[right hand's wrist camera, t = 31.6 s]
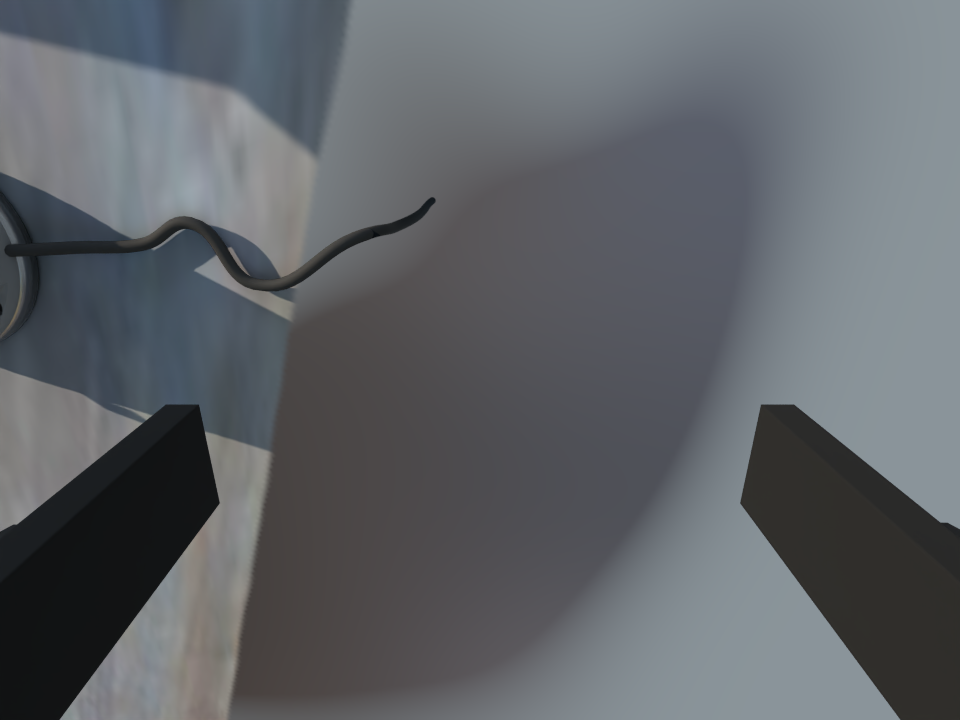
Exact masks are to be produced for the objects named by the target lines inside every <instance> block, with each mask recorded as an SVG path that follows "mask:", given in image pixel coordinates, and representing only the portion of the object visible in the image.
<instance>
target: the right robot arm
mask: <svg viewBox="0 0 960 720" xmlns="http://www.w3.org/2000/svg"><path fill="white" fill-rule="evenodd" d="M435 202H436V199H435V198H434V197H431V198H429V199H428V200H427V201H426V202H425V203H424V204H423V205H422V206H421V208H420V209H418V210H417V211H416V212H414V213H412V214H410V215H408V216H406V217H404V218H402V219H399V220H397V221H394V222H392V223H388V224H382V225H375V226H371V227H367V228H364V229H361V230H358V231H355V232H352V233H350V234H348V235H346V236H344V237H342V238H340V239H338V240H337V241H335V242H333V243H332V244H330V245H329V246H327V247H326V248H325V249H323V250H322V251H321V252H319V253H318V254H317V255H316V256H314V257H313V258H312V259H311V260H310V261H308V262H307V263H306V264H304V265H303V266H302V267H300V268H299V269H298V270H296V271H295V272H293V273H291V274H289V275H287V276H285V277H282V278H279V279H274V280H262V279H256V278H253V277H250V276H249V275H247V274H246V273H245V272H243V271H242V270H241V268H240V267H239V266H238V265H237V263H236V262H235V260H234V259H233V257H232V255H231V254H230V252H229V250H228V249H227V247H226V245H225V244H224V242H223V241H222V239H221V238H220V237H219V235H218V234H217V233H216V232H215V231H214V230H213V229H212V228H211V227H210V226H209V225H207V224H206V223H204V222H203V221H200V220H197V219H195V218H192V217H186V216H184V217H176V218H173V219H171V220H169V221H167V222H166V223H165V224H163V225H162V226H161V227H160V228H159V229H157V230H156V231H155V232H153V233H152V234H150V235H149V236H146V237H143V238H139V239H134V240H126V241H72V242H52V243H31V240H30V237H29V235H28V233H27V231H26V228H25V226H24V225H23V223H22V221H21V219H20V217H19V216H18V214H17V213H16V211H15V210H14V208H13V207H12V205H11V204H10V203H9V202H8V200H7V199H6V198H5V196H4V195H3V194H2V193H1V192H0V341H2V340H4V339H6V338H8V337H9V336H11V335H12V334H13V333H15V332H16V331H17V330H18V329H19V328H20V327H21V326H22V325H23V324H24V323H25V321H26V320H27V318H28V317H29V315H30V313H31V311H32V309H33V307H34V304H35V301H36V297H37V292H38V279H39V278H38V266H37V260H36V256H43V255H63V254H84V253H130V252H138V251H144V250H148V249H151V248H154V247H156V246H158V245H159V244H161V243H162V242H164V241H165V240H166V239H168V238H169V237H170V236H171V235H172V234H174V233H175V232H177V231H179V230H181V229H191V230H194V231H196V232H198V233H199V234H201V235H202V236H203V237H204V238H205V239H206V240H207V241H208V242H209V244H210V245H211V246H212V248H213V249H214V251H215V253H216V254H217V256H218V257H219V259H220V261H221V262H222V264H223V266H224V267H225V268H226V270H227V271H228V273H229V274H230V275H231V276H232V277H233V278H234V279H235V280H236V281H237V282H238V283H240V284H242V285H243V286H245V287H247V288H250V289H253V290H260V291H279V290H284V289H287V288H290V287H293V286H295V285H297V284H298V283H300V282H302V281H304V280H305V279H306V278H308V277H309V276H311V275H312V274H313V273H315V272H316V271H317V270H318V269H320V268H321V267H322V266H323V265H325V264H326V263H327V262H328V261H330V260H331V259H332V258H334V257H335V256H337V255H338V254H339V253H341V252H343V251H344V250H346V249H348V248H350V247H352V246H354V245H356V244H358V243H361V242H363V241H366V240H369V239H372V238H375V237H379V236H384V235H389V234H393V233H396V232H398V231H401V230H403V229H405V228H407V227H409V226H411V225H413V224H414V223H416V222H418V221H419V220H420V219H421V218H423V217H424V215H425V214H426V213H427V212H428V210H429V209H430V207H431V206H432V205H433V204H434V203H435ZM740 503H741V505H742V506H743V508H744V509H745V510H746V512H747V513H748V514H749V516H750V517H751V518H752V520H753V521H754V522H755V524H756V525H757V526H758V528H759V529H760V531H761V532H762V533H763V535H764V536H765V537H766V539H767V540H768V541H769V543H770V544H771V545H772V547H773V548H774V549H775V551H776V552H777V553H778V555H779V556H780V558H781V559H782V560H783V562H784V563H785V564H786V566H787V567H788V568H789V570H790V571H791V572H792V574H793V575H794V576H795V578H796V579H797V581H798V582H799V583H800V585H801V586H802V587H803V589H804V590H805V591H806V593H807V594H808V595H809V597H810V598H811V599H812V601H813V602H814V603H815V605H816V606H817V608H818V609H819V610H820V612H821V613H822V614H823V616H824V617H825V618H826V620H827V621H828V622H829V624H830V625H831V626H832V628H833V629H834V630H835V632H836V633H837V635H838V636H839V637H840V639H841V640H842V641H843V643H844V644H845V645H846V647H847V648H848V649H849V651H850V652H851V653H852V655H853V656H854V658H855V659H856V660H857V662H858V663H859V664H860V666H861V667H862V668H863V670H864V671H865V672H866V674H867V675H868V676H869V678H870V679H871V680H872V682H873V683H874V685H875V686H876V687H877V689H878V690H879V691H880V693H881V694H882V695H883V697H884V698H885V699H886V701H887V702H888V703H889V705H890V706H891V707H892V709H893V710H894V711H895V713H896V714H897V716H898V717H899V718H900V720H960V529H958V528H956V527H954V526H952V525H950V524H949V523H940V522H939V521H938V520H936V519H935V518H934V517H933V516H931V515H930V514H929V513H928V512H927V511H925V510H924V509H923V508H922V507H920V506H919V505H918V504H917V503H915V502H914V501H913V500H912V499H910V498H909V497H908V496H907V495H905V494H904V493H903V492H902V491H900V490H899V489H898V488H897V487H896V486H894V485H893V484H892V483H891V482H889V481H888V480H887V479H886V478H884V477H883V476H882V475H881V474H879V473H878V472H877V471H876V470H874V469H873V468H872V467H871V466H869V465H868V464H867V463H866V462H864V461H863V460H862V459H861V458H860V457H858V456H857V455H856V454H855V453H853V452H852V451H851V450H850V449H848V448H847V447H846V446H845V445H843V444H842V443H841V442H840V441H838V440H837V439H836V438H835V437H833V436H832V435H831V434H830V433H829V432H827V431H826V430H825V429H824V428H822V427H821V426H820V425H819V424H817V423H816V422H815V421H814V420H812V419H811V418H810V417H809V416H807V415H806V414H805V413H804V412H802V411H801V410H800V409H799V408H797V407H796V406H795V405H761V408H760V413H759V417H758V422H757V427H756V431H755V436H754V441H753V446H752V450H751V455H750V460H749V464H748V469H747V474H746V479H745V483H744V488H743V493H742V498H741V502H740ZM219 504H220V502H219V497H218V493H217V488H216V483H215V479H214V474H213V469H212V464H211V460H210V455H209V450H208V446H207V441H206V436H205V431H204V427H203V422H202V417H201V413H200V408H199V405H165V406H164V407H163V408H161V409H160V410H159V411H158V412H156V413H155V414H154V415H153V416H151V417H150V418H149V419H148V420H146V421H145V422H144V423H143V424H141V425H140V426H139V427H138V428H136V429H135V430H134V431H133V432H131V433H130V434H129V435H128V436H127V437H125V438H124V439H123V440H122V441H120V442H119V443H118V444H117V445H115V446H114V447H113V448H112V449H110V450H109V451H108V452H107V453H105V454H104V455H103V456H102V457H100V458H99V459H98V460H97V461H96V462H94V463H93V464H92V465H91V466H89V467H88V468H87V469H86V470H84V471H83V472H82V473H81V474H79V475H78V476H77V477H76V478H74V479H73V480H72V481H71V482H69V483H68V484H67V485H66V486H64V487H63V488H62V489H61V490H60V491H58V492H57V493H56V494H55V495H53V496H52V497H51V498H50V499H48V500H47V501H46V502H45V503H43V504H42V505H41V506H40V507H38V508H37V509H36V510H35V511H33V512H32V513H31V514H30V515H29V516H27V517H26V518H25V519H24V520H22V521H21V522H20V523H19V524H17V525H12V526H10V527H8V528H6V529H4V530H3V531H1V532H0V720H60V718H61V717H62V716H63V714H64V713H65V712H66V710H67V709H68V708H69V706H70V705H71V703H72V702H73V701H74V699H75V698H76V697H77V695H78V694H79V693H80V691H81V690H82V689H83V687H84V686H85V685H86V683H87V682H88V681H89V679H90V678H91V676H92V675H93V674H94V672H95V671H96V670H97V668H98V667H99V666H100V664H101V663H102V662H103V660H104V659H105V658H106V656H107V655H108V653H109V652H110V651H111V649H112V648H113V647H114V645H115V644H116V643H117V641H118V640H119V639H120V637H121V636H122V635H123V633H124V632H125V631H126V629H127V628H128V626H129V625H130V624H131V622H132V621H133V620H134V618H135V617H136V616H137V614H138V613H139V612H140V610H141V609H142V608H143V606H144V605H145V604H146V602H147V601H148V599H149V598H150V597H151V595H152V594H153V593H154V591H155V590H156V589H157V587H158V586H159V585H160V583H161V582H162V581H163V579H164V578H165V576H166V575H167V574H168V572H169V571H170V570H171V568H172V567H173V566H174V564H175V563H176V562H177V560H178V559H179V558H180V556H181V555H182V554H183V552H184V551H185V549H186V548H187V547H188V545H189V544H190V543H191V541H192V540H193V539H194V537H195V536H196V535H197V533H198V532H199V531H200V529H201V528H202V526H203V525H204V524H205V522H206V521H207V520H208V518H209V517H210V516H211V514H212V513H213V512H214V510H215V509H216V508H217V506H218V505H219Z"/></svg>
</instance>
